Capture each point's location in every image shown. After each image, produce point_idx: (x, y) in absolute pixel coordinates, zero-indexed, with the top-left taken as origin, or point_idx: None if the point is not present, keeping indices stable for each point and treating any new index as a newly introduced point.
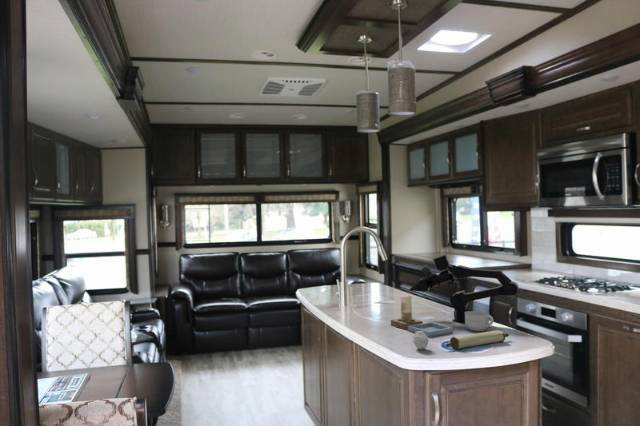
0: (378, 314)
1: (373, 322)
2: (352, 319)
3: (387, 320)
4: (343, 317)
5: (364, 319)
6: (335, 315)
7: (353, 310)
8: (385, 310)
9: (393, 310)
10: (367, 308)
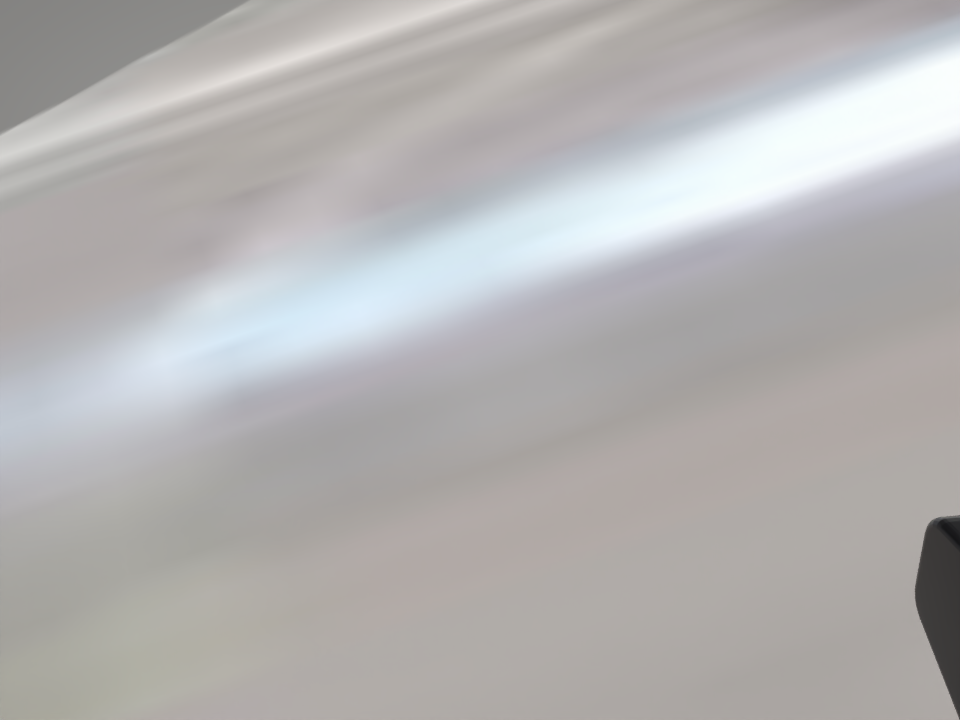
0: (542, 265)
1: (18, 390)
2: (163, 162)
3: (174, 503)
4: (245, 75)
5: (186, 248)
6: (319, 5)
7: (627, 13)
8: (860, 240)
9: (946, 323)
10: (826, 58)
